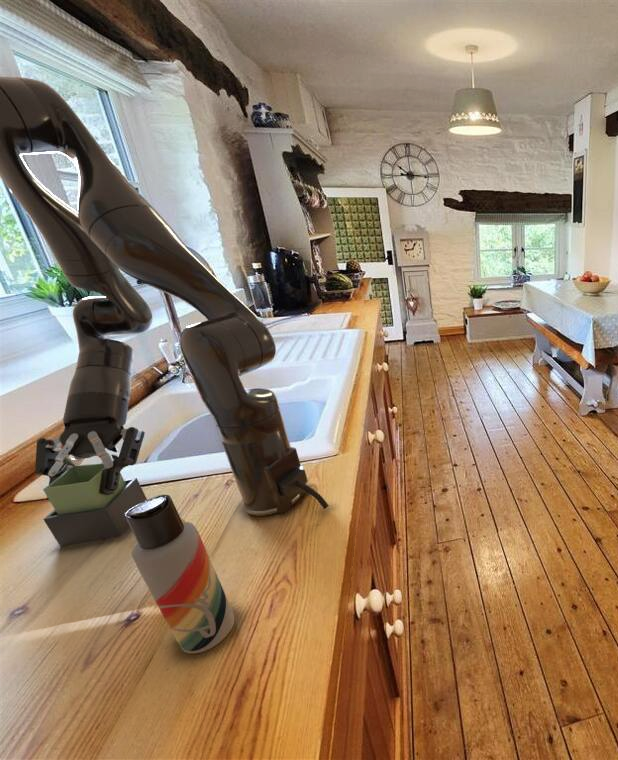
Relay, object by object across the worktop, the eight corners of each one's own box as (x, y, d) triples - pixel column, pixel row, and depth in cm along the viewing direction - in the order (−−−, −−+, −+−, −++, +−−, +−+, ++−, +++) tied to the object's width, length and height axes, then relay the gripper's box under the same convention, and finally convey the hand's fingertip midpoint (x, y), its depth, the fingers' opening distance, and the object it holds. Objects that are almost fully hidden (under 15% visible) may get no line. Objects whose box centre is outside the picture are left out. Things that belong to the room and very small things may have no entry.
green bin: (98, 514, 71) (71, 466, 67) (138, 508, 72) (114, 460, 68) (73, 540, 65) (42, 489, 61) (116, 532, 66) (89, 482, 62)
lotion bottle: (193, 664, 47) (123, 530, 39) (172, 639, 50) (102, 510, 42) (244, 624, 51) (190, 496, 43) (221, 603, 54) (167, 480, 46)
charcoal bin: (96, 513, 72) (81, 486, 69) (150, 505, 73) (136, 477, 71) (61, 548, 64) (42, 519, 62) (122, 538, 66) (106, 509, 63)
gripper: (28, 396, 65) (2, 503, 59) (132, 384, 68) (117, 486, 62) (68, 410, 72) (48, 508, 66) (161, 400, 75) (150, 492, 69)
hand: (82, 497), depth 64 cm, fingers closed on green bin, 6 cm apart
